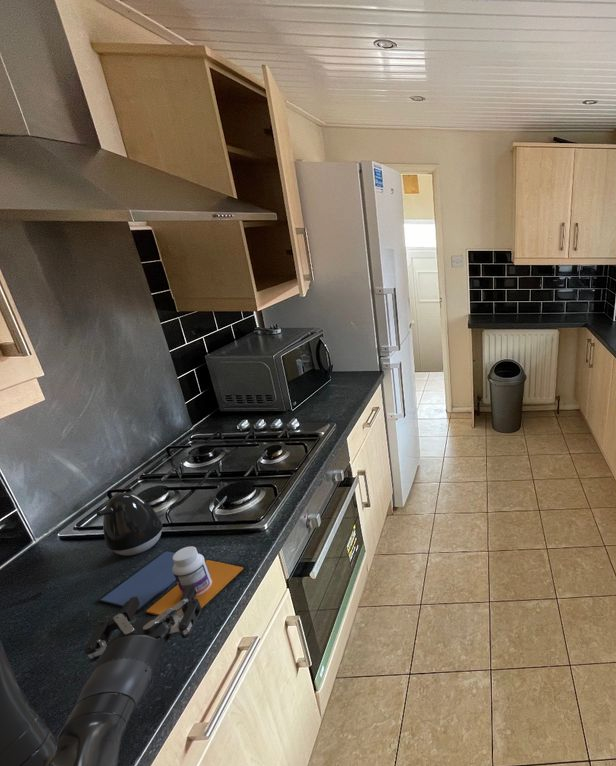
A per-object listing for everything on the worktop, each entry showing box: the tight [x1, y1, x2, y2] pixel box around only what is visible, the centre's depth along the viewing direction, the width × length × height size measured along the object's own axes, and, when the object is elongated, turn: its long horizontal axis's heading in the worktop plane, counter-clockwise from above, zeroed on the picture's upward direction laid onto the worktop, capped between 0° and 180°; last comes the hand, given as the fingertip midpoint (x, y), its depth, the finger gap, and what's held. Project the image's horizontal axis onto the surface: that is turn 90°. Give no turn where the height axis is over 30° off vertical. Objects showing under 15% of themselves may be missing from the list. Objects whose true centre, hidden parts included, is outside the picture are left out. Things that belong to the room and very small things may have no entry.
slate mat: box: [100, 550, 176, 611], centre depth 92 cm, size 14×10×1 cm
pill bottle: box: [172, 545, 212, 596], centre depth 87 cm, size 5×5×10 cm
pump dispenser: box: [95, 492, 163, 556], centre depth 98 cm, size 10×10×15 cm
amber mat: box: [145, 559, 244, 620], centre depth 89 cm, size 14×10×1 cm
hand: (163, 593), depth 77 cm, fingers open, 8 cm apart
